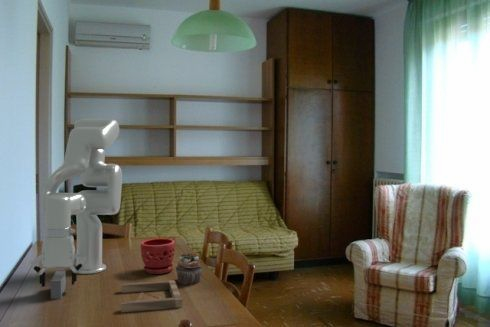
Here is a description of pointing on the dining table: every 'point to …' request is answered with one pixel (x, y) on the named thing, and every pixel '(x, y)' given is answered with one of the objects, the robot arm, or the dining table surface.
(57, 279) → the block
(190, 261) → the cupcake
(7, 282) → the dining table surface
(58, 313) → the dining table surface
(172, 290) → the walnut frame
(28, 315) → the dining table surface
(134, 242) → the dining table surface
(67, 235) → the robot arm
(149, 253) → the plant pot
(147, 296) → the shard
